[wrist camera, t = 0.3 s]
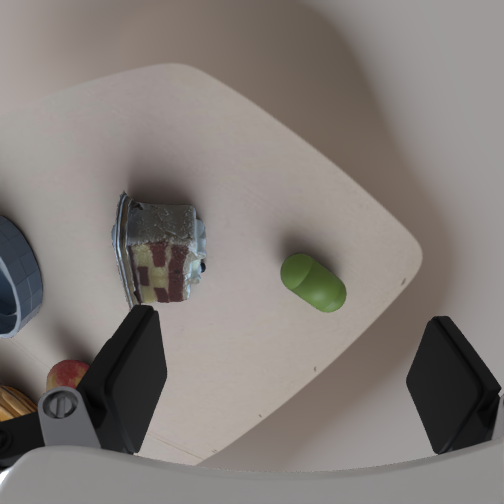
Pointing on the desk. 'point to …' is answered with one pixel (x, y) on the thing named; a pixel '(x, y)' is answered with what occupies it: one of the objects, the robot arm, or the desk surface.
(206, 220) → the desk surface
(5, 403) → the ceramic bowl
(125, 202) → the layered cake slice
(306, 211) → the desk surface
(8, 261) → the bowl
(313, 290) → the pickle
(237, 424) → the desk surface
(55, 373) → the fruit
